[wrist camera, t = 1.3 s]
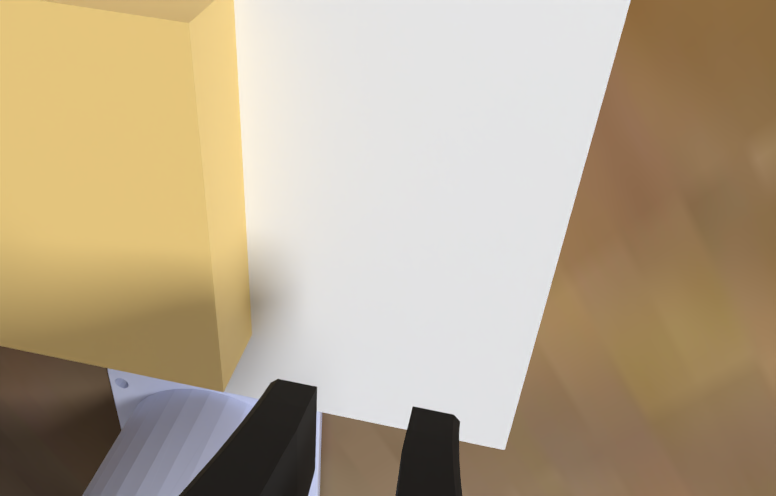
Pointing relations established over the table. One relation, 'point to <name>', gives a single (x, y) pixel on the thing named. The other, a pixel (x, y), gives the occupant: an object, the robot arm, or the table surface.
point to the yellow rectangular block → (123, 186)
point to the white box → (411, 194)
